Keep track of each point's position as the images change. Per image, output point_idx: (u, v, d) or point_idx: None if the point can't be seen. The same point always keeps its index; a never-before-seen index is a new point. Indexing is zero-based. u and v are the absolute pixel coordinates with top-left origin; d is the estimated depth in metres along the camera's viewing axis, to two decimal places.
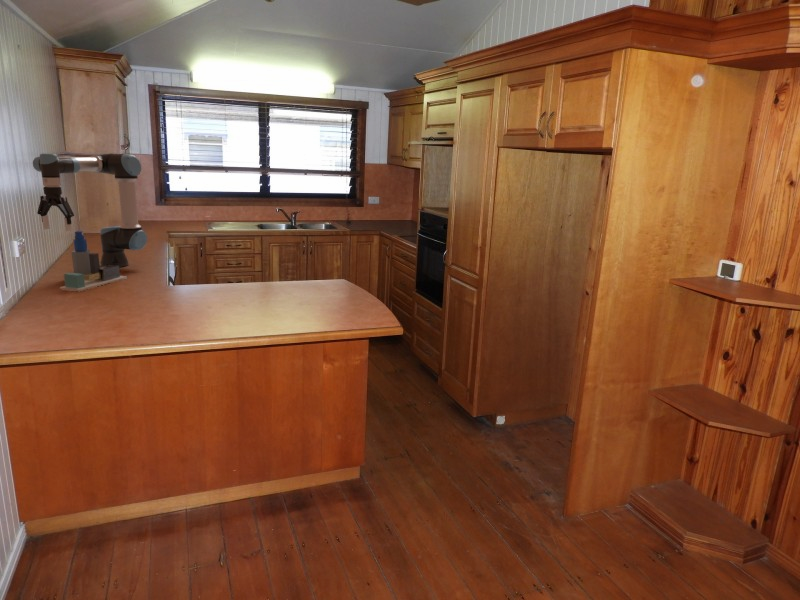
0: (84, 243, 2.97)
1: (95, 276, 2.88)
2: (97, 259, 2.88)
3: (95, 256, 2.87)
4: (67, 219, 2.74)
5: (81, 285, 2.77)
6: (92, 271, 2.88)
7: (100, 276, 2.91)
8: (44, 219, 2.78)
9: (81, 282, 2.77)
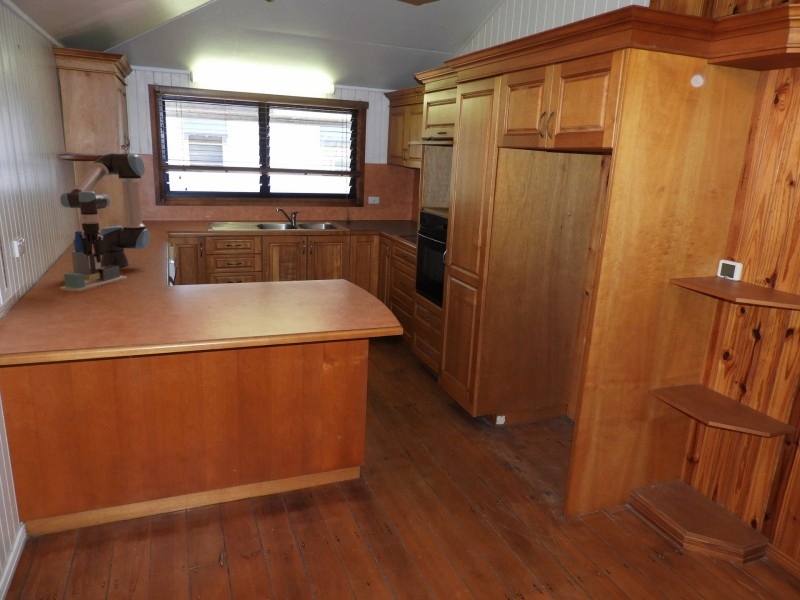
0: None
1: (95, 276, 2.88)
2: None
3: None
4: (97, 257, 2.86)
5: (81, 285, 2.77)
6: (92, 271, 2.88)
7: (100, 276, 2.91)
8: None
9: (81, 282, 2.77)
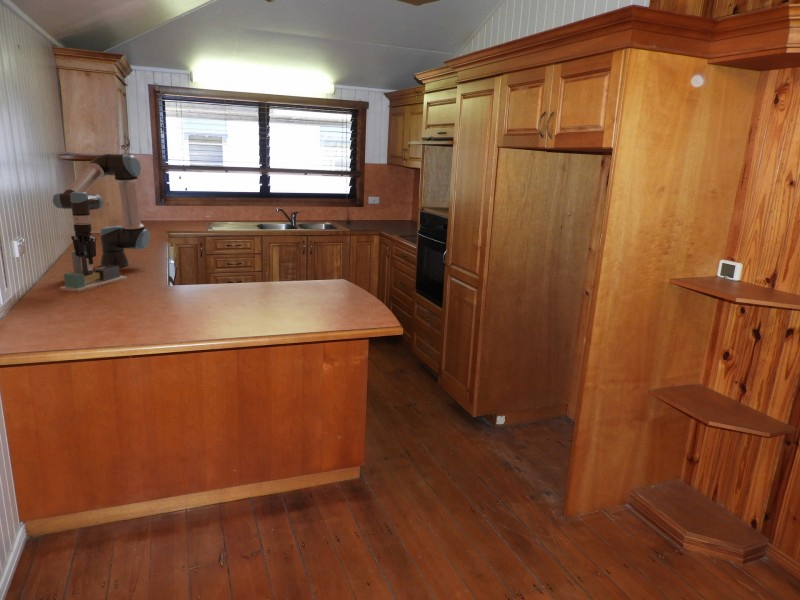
0: None
1: (88, 278, 2.84)
2: None
3: None
4: (89, 259, 2.82)
5: (81, 285, 2.77)
6: (84, 273, 2.84)
7: (92, 278, 2.87)
8: None
9: (81, 282, 2.77)
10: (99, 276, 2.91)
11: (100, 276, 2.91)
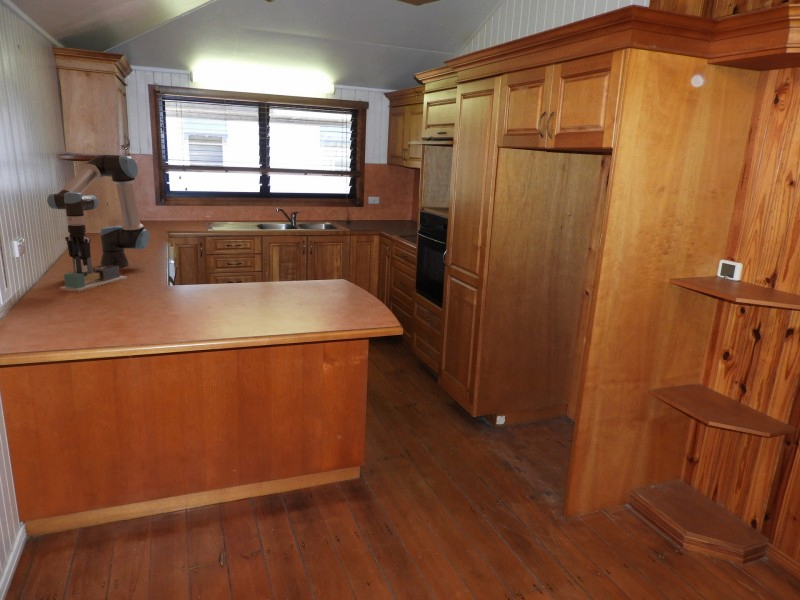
0: None
1: None
2: None
3: None
4: (83, 260, 2.78)
5: (81, 285, 2.77)
6: None
7: (87, 279, 2.83)
8: None
9: (81, 282, 2.77)
10: (94, 277, 2.87)
11: (95, 277, 2.88)
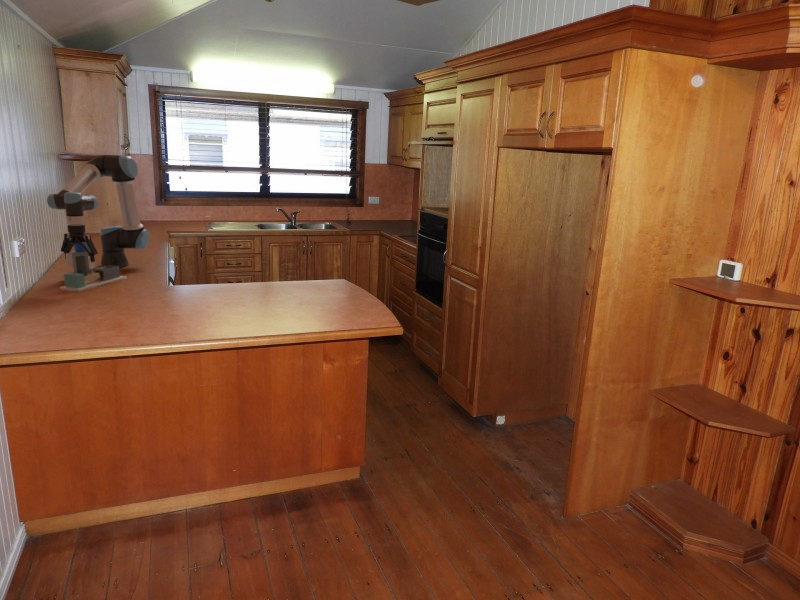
0: None
1: None
2: (84, 262, 2.80)
3: (82, 259, 2.79)
4: (91, 257, 2.76)
5: (81, 285, 2.77)
6: None
7: (87, 279, 2.83)
8: (67, 256, 2.80)
9: (81, 282, 2.77)
10: (94, 277, 2.87)
11: (95, 277, 2.88)
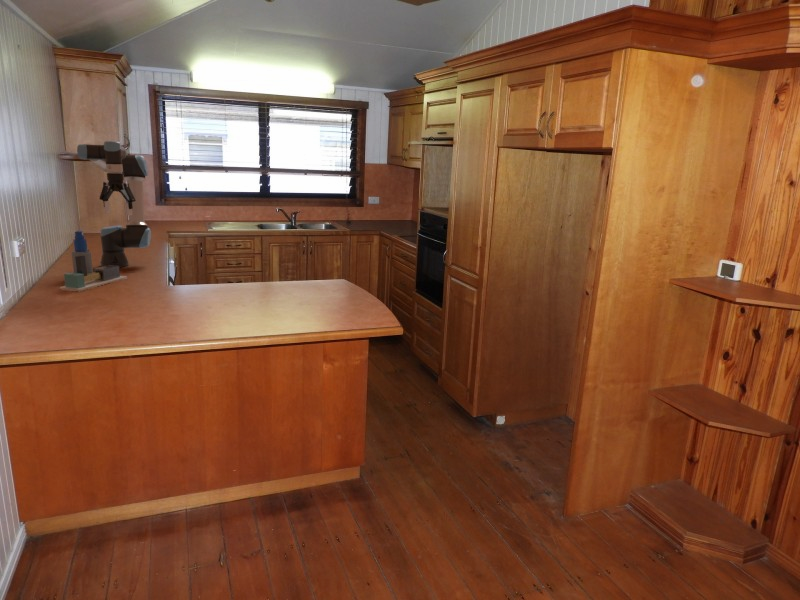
0: (84, 243, 2.97)
1: None
2: (84, 262, 2.80)
3: (82, 259, 2.79)
4: (129, 204, 2.88)
5: (81, 285, 2.77)
6: None
7: (87, 279, 2.83)
8: (106, 204, 2.91)
9: (81, 282, 2.77)
10: (94, 277, 2.87)
11: (95, 277, 2.88)
